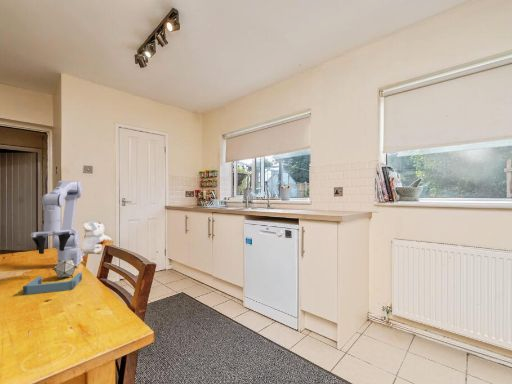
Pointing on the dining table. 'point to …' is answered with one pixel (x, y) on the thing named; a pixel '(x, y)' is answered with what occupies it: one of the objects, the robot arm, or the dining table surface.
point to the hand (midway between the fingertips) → (51, 252)
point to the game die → (65, 268)
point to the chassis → (50, 285)
